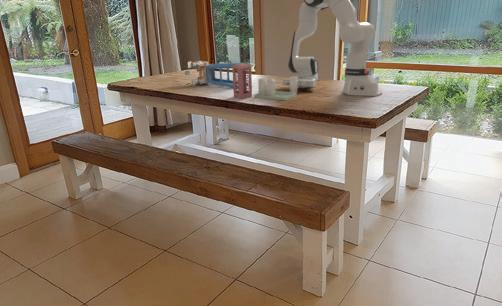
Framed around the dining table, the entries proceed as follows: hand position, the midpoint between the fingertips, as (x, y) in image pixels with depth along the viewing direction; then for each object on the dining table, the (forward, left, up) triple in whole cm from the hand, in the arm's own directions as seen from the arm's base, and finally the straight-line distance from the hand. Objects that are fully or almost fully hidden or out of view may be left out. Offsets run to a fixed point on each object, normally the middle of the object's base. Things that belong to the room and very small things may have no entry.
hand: (293, 84), depth 230 cm
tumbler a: (+6, +17, -5) cm, 19 cm away
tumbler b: (+11, +17, -5) cm, 21 cm away
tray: (+5, +14, -6) cm, 16 cm away
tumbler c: (0, 0, -6) cm, 6 cm away
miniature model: (+22, +22, -6) cm, 32 cm away
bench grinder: (+62, -8, -6) cm, 63 cm away
